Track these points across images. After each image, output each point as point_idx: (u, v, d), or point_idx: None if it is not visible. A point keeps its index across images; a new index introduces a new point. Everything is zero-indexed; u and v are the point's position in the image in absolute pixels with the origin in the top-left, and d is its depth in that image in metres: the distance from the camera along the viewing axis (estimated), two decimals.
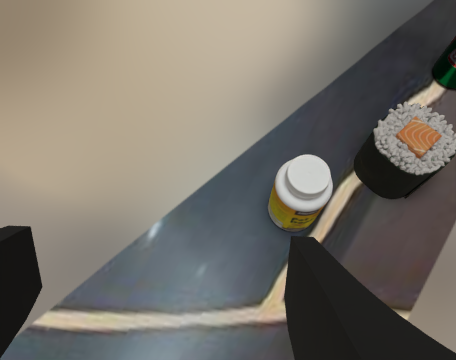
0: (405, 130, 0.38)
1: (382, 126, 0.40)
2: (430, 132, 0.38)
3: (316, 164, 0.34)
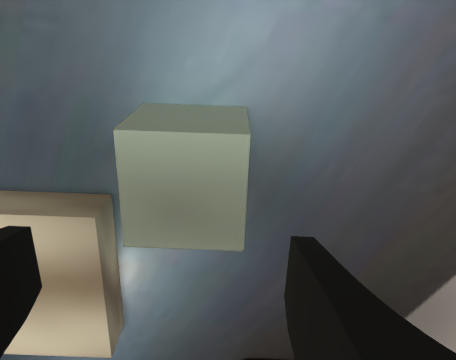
0: None
1: None
2: None
3: None
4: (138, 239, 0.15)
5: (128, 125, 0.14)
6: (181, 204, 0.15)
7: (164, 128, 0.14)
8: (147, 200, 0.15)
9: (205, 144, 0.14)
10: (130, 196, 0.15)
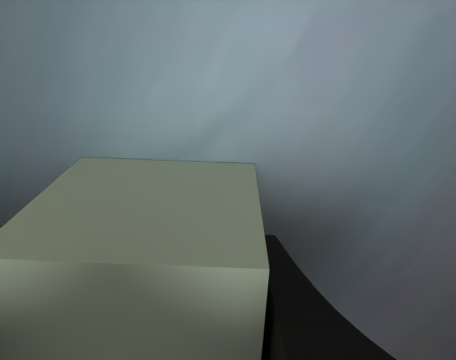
0: None
1: None
2: None
3: None
4: None
5: (10, 237, 0.07)
6: None
7: (86, 246, 0.07)
8: None
9: (170, 287, 0.06)
10: None
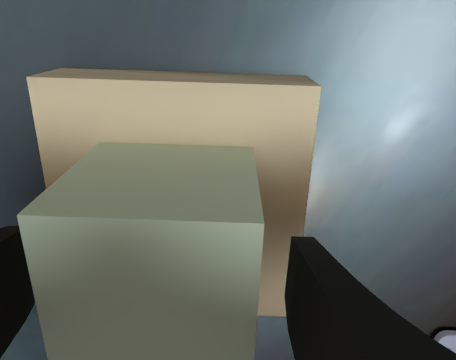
0: None
1: None
2: None
3: None
4: None
5: (49, 201, 0.08)
6: (145, 330, 0.09)
7: (112, 207, 0.08)
8: (87, 325, 0.09)
9: (183, 240, 0.08)
10: (58, 319, 0.09)
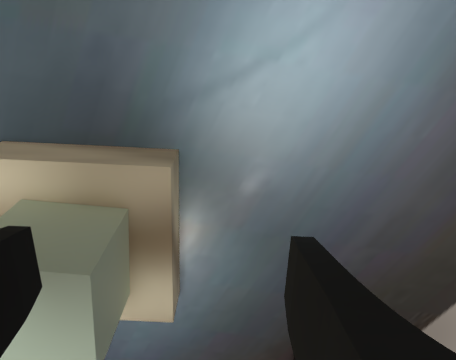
0: None
1: None
2: None
3: None
4: None
5: None
6: (26, 332, 0.14)
7: None
8: None
9: (44, 282, 0.13)
10: None
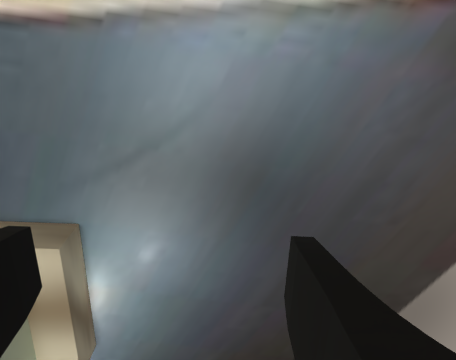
0: None
1: None
2: None
3: None
4: None
5: None
6: None
7: None
8: None
9: None
10: None
